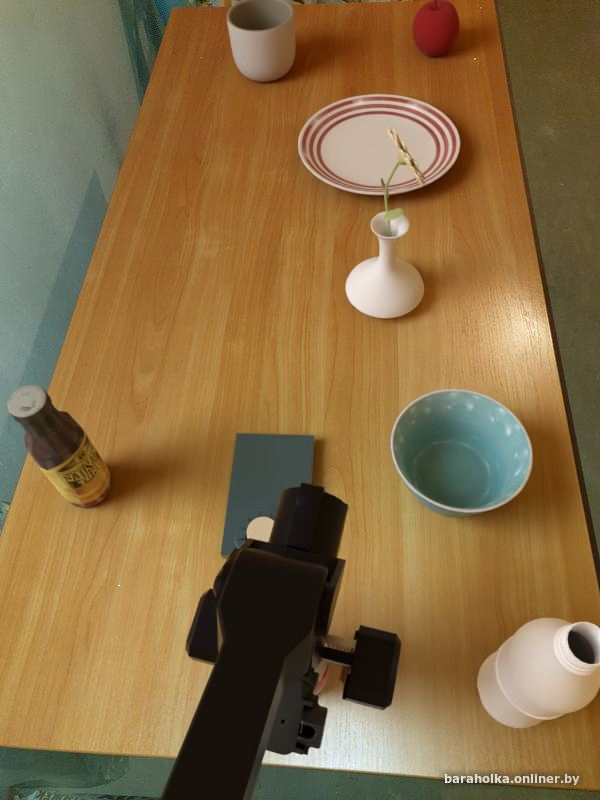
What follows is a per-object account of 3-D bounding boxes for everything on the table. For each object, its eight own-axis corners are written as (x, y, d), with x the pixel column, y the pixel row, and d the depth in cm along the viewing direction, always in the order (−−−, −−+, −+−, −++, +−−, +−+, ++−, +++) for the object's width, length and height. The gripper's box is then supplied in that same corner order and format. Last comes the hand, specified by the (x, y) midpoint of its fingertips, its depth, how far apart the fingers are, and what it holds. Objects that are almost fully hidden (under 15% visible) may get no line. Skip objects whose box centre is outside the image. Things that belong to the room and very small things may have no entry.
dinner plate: (306, 106, 119) (305, 89, 116) (454, 107, 117) (457, 90, 114) (291, 207, 105) (290, 191, 102) (460, 211, 102) (463, 195, 100)
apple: (459, 62, 124) (468, 8, 115) (412, 64, 124) (418, 11, 116) (452, 36, 129) (460, -18, 120) (408, 38, 129) (412, -15, 121)
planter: (236, 54, 130) (228, -3, 120) (297, 51, 129) (294, -7, 120) (233, 90, 123) (224, 33, 114) (297, 87, 122) (293, 29, 113)
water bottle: (471, 723, 64) (535, 689, 43) (473, 649, 68) (534, 584, 47) (544, 737, 63) (647, 709, 42) (543, 661, 67) (637, 600, 46)
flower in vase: (424, 326, 91) (449, 183, 69) (344, 324, 92) (345, 183, 70) (421, 258, 98) (443, 110, 76) (346, 258, 98) (348, 111, 77)
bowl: (392, 414, 83) (397, 380, 76) (515, 429, 81) (532, 395, 74) (379, 527, 75) (383, 500, 68) (516, 547, 73) (534, 522, 66)
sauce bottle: (95, 517, 78) (27, 442, 61) (55, 498, 80) (-22, 419, 63) (125, 473, 81) (68, 389, 64) (85, 455, 83) (20, 369, 66)
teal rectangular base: (306, 573, 73) (305, 565, 71) (220, 568, 74) (216, 560, 71) (314, 440, 82) (313, 429, 79) (237, 437, 83) (234, 426, 80)
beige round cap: (278, 552, 72) (276, 547, 71) (246, 550, 72) (244, 546, 71) (280, 521, 74) (279, 517, 72) (249, 520, 74) (248, 515, 73)
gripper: (143, 706, 49) (185, 724, 62) (384, 774, 45) (375, 778, 59) (191, 566, 54) (220, 610, 67) (409, 618, 51) (395, 654, 64)
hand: (298, 662), depth 64 cm, fingers open, 9 cm apart
